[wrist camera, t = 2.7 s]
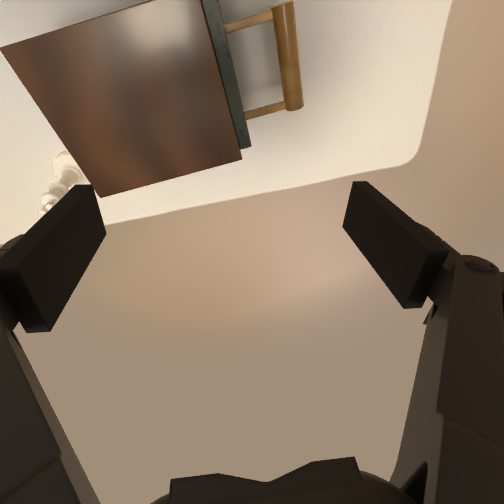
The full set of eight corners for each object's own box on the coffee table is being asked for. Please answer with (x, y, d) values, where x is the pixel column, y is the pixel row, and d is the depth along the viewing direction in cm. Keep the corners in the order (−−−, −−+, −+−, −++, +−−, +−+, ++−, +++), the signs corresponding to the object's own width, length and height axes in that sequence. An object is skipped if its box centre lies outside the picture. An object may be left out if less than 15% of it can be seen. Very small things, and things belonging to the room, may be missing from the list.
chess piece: (44, 164, 37) (3, 207, 30) (71, 143, 36) (35, 182, 28) (78, 193, 40) (49, 238, 33) (104, 174, 39) (80, 216, 31)
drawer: (274, -26, 27) (296, -33, 21) (290, 105, 35) (310, 130, 28) (79, 35, 28) (41, 46, 22) (137, 148, 36) (121, 182, 29)
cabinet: (199, -11, 28) (196, -14, 20) (234, 123, 36) (242, 159, 28) (56, 33, 29) (-2, 48, 21) (122, 154, 37) (100, 198, 29)
